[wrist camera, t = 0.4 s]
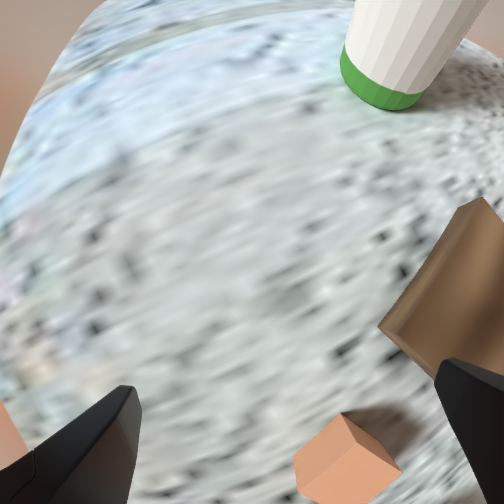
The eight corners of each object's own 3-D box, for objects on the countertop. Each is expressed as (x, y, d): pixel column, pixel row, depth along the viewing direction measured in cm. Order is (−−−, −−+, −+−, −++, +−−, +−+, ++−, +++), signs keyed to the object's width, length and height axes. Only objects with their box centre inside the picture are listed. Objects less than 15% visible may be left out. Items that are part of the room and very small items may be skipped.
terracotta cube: (380, 442, 19) (402, 472, 14) (335, 482, 19) (347, 517, 14) (339, 412, 20) (356, 442, 15) (293, 455, 19) (297, 491, 14)
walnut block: (523, 297, 20) (551, 297, 16) (458, 405, 19) (483, 419, 15) (455, 208, 21) (482, 196, 17) (375, 325, 20) (396, 333, 17)
